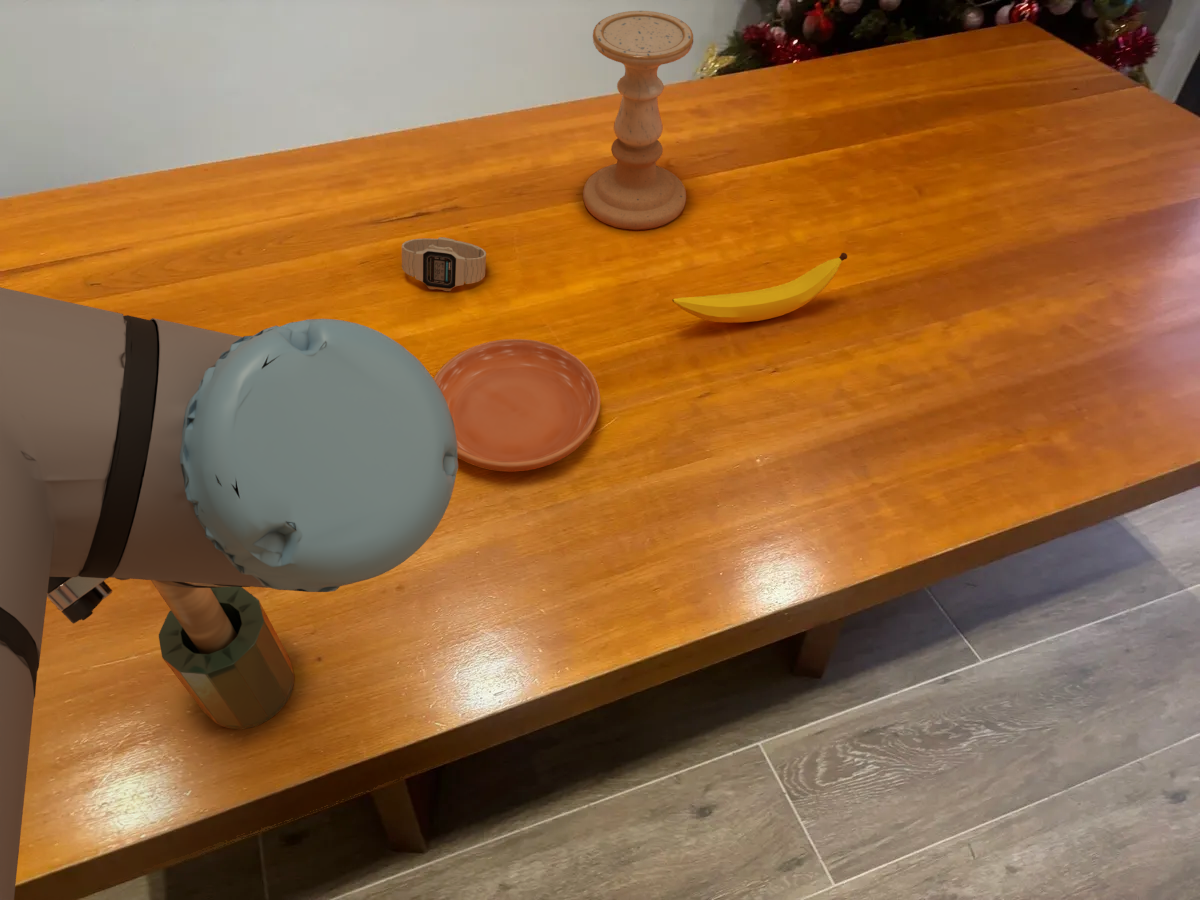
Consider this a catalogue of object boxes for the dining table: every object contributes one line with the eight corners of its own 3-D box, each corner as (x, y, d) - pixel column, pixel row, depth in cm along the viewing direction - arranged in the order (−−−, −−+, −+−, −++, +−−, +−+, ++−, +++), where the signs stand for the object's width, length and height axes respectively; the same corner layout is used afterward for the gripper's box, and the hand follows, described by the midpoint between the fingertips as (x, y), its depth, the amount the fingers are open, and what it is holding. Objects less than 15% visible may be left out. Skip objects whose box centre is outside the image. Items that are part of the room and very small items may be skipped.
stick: (220, 692, 64) (77, 483, 45) (213, 661, 65) (72, 447, 47) (257, 678, 64) (131, 467, 46) (250, 648, 66) (125, 432, 48)
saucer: (627, 392, 87) (628, 370, 85) (549, 510, 78) (548, 489, 76) (485, 340, 92) (483, 318, 89) (395, 446, 82) (390, 424, 80)
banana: (663, 327, 93) (668, 279, 89) (827, 292, 98) (840, 244, 93) (673, 346, 92) (679, 297, 87) (840, 309, 96) (853, 261, 91)
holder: (211, 744, 64) (167, 688, 57) (196, 666, 68) (152, 606, 61) (303, 707, 66) (271, 649, 59) (283, 634, 70) (251, 572, 63)
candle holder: (613, 242, 102) (619, 71, 87) (565, 186, 109) (563, 19, 94) (705, 214, 106) (726, 45, 91) (653, 161, 113) (664, -3, 98)
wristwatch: (398, 289, 97) (391, 252, 93) (410, 253, 101) (403, 215, 97) (483, 294, 96) (479, 256, 92) (491, 257, 100) (488, 220, 97)
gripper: (110, 705, 33) (53, 662, 52) (411, 450, 41) (267, 493, 60) (-41, 551, 31) (-44, 565, 50) (307, 315, 39) (191, 403, 58)
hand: (126, 525), depth 55 cm, fingers closed on stick, 2 cm apart
